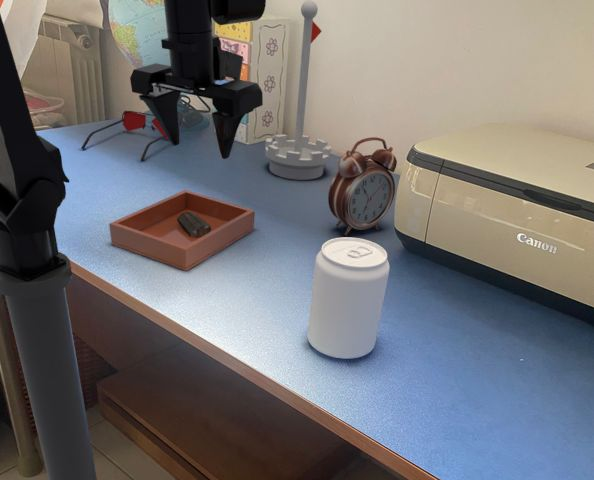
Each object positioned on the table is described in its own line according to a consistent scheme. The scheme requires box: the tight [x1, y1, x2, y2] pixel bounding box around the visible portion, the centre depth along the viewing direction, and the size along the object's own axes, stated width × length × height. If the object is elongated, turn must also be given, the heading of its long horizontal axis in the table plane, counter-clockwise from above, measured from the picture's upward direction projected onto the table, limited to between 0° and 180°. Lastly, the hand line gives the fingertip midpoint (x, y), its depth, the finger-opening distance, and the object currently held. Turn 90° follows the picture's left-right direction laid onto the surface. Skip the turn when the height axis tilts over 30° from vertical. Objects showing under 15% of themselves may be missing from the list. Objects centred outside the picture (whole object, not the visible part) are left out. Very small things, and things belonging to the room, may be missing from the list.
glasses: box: [81, 110, 180, 162], centre depth 122 cm, size 14×16×5 cm
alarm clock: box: [327, 136, 398, 236], centre depth 93 cm, size 11×5×15 cm, turn 123°
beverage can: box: [306, 236, 390, 360], centre depth 66 cm, size 8×8×12 cm
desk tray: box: [108, 189, 256, 272], centre depth 89 cm, size 18×14×3 cm
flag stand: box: [264, 0, 332, 181], centre depth 111 cm, size 13×13×30 cm
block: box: [177, 212, 211, 237], centre depth 91 cm, size 4×6×2 cm, turn 38°
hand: (200, 151), depth 84 cm, fingers open, 9 cm apart
